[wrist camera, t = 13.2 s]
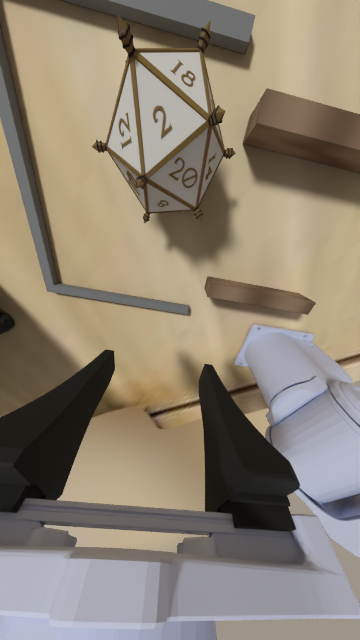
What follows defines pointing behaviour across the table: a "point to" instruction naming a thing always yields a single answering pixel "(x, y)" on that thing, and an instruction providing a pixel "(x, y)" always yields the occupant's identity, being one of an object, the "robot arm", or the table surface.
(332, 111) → the walnut chute
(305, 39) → the table surface
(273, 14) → the table surface
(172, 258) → the table surface
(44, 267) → the frame
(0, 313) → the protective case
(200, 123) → the game die
